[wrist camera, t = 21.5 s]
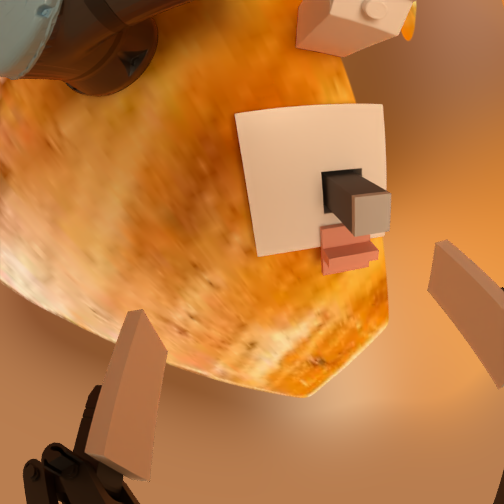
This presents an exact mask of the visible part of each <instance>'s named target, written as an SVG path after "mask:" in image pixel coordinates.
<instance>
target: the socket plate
mask: <svg viewBox="0 0 504 504" xmlns="http://www.w3.org/2000/svg"><path fill="white" fill-rule="evenodd" d="M235 120H236V126H237V132H238V138H239V144H240V150H241V156H242V163H243V169H244V175H245V181H246V187H247V193H248V199H249V206H250V212H251V218H252V224H253V230H254V237H255V243H256V249H257V255H258V257H260V256H266V255H272V254H279V253H285V252H291V251H297V250H303V249H309V248H315V247H321V236H320V227H322V226H328V225H335V224H342V222H341V221H340V220H339V219H338V218H337V217H336V216H335V215H334V214H333V213H332V211H331V210H330V209H329V208H328V207H327V206H326V205H325V204H324V203H323V190H322V176H321V172H326V171H336V170H346V169H349V170H351V171H353V172H354V173H356V174H358V175H360V176H362V177H364V178H365V179H367V180H369V181H371V182H372V183H374V184H376V185H378V186H379V187H381V188H383V189H385V190H386V149H385V147H386V146H385V129H384V116H383V105H382V104H326V105H308V106H295V107H284V108H274V109H265V110H257V111H250V112H243V113H237V114H235ZM384 235H385V232H381V233H375V234H370V238H375V237H381V236H384Z"/></svg>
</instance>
